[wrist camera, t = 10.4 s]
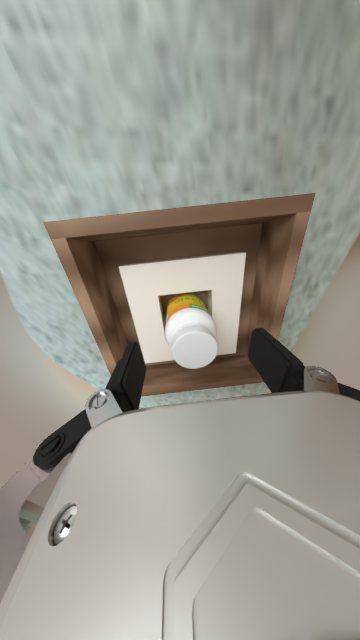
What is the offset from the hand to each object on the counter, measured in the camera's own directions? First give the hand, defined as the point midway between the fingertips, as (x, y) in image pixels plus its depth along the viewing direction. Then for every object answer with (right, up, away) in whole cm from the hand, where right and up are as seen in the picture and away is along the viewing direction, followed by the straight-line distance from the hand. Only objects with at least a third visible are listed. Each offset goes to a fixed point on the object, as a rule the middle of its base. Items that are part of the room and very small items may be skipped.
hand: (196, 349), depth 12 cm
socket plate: (-1, +4, +10) cm, 11 cm away
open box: (-1, +4, +10) cm, 11 cm away
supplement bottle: (-1, +4, +9) cm, 10 cm away
